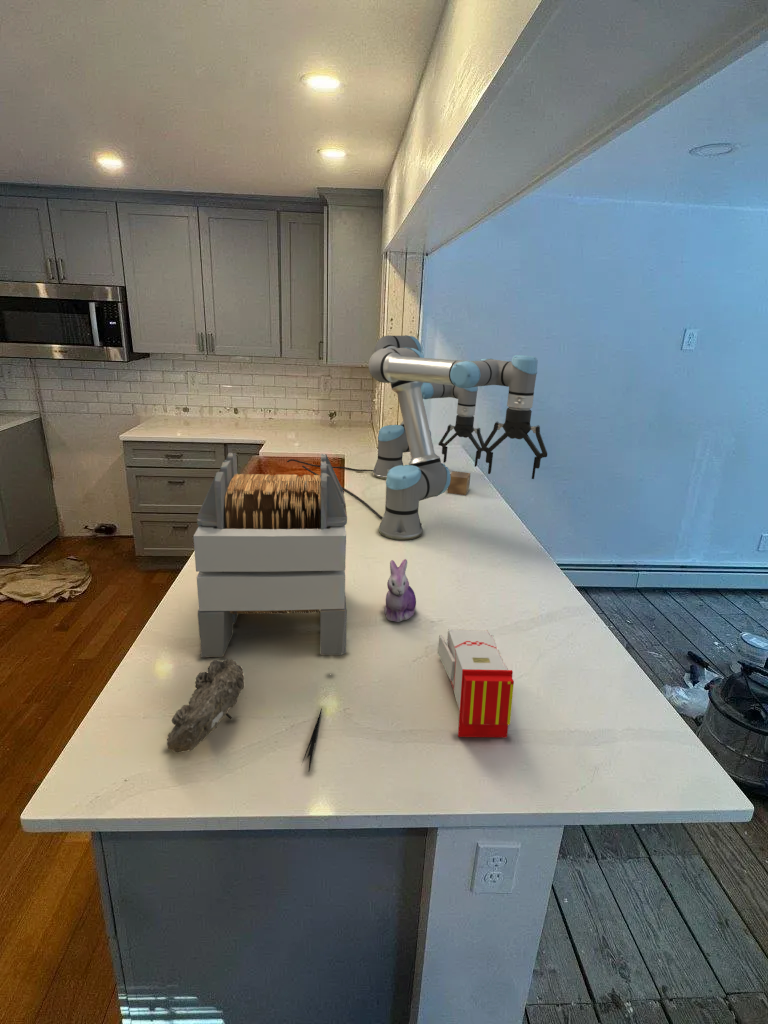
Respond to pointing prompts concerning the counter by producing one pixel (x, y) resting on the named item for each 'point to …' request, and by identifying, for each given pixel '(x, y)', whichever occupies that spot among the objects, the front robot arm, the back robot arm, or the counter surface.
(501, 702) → the toy
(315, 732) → the feather
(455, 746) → the counter surface
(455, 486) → the block
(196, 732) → the fossil
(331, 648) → the record crate
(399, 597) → the figurine
